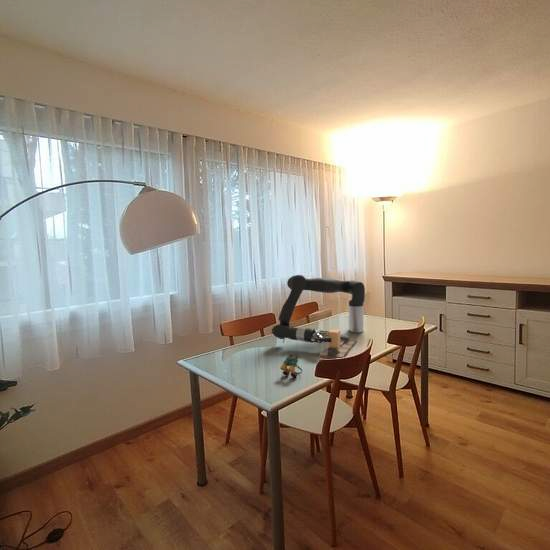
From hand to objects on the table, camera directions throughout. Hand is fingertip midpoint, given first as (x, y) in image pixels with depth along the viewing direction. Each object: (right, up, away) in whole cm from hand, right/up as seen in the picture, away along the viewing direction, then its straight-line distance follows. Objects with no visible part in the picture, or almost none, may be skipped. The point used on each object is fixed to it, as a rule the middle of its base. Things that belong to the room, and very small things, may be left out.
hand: (333, 338), depth 174 cm
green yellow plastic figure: (-24, -13, -25) cm, 37 cm away
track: (+4, -8, +8) cm, 12 cm away
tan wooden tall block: (+1, -6, 0) cm, 6 cm away
